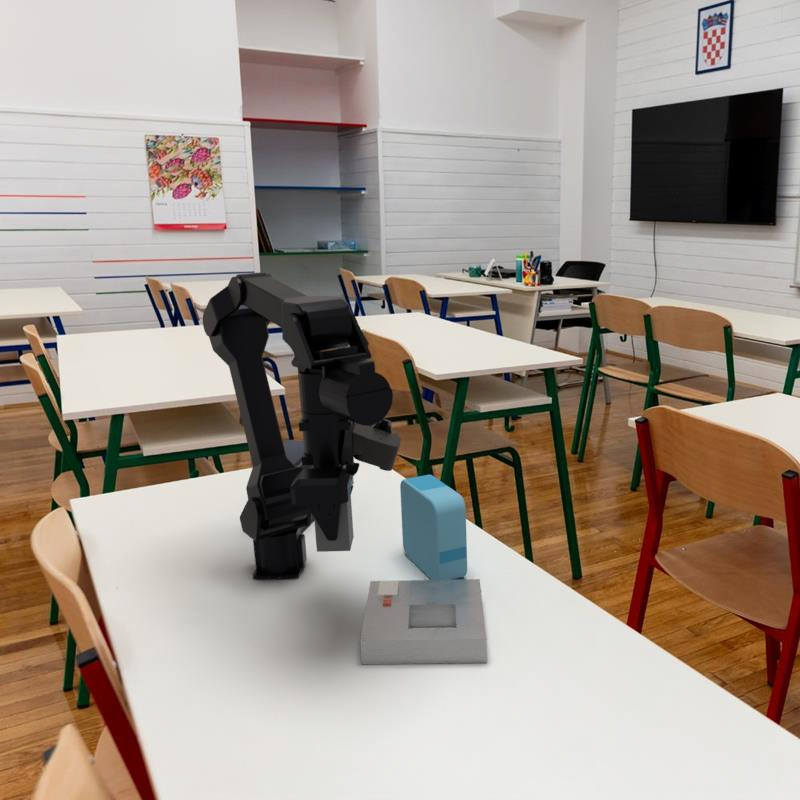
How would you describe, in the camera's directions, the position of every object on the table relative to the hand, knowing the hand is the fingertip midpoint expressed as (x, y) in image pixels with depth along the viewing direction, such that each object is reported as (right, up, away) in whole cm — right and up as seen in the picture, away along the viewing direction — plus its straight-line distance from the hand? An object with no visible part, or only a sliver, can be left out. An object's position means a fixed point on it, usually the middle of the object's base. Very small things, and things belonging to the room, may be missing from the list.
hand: (334, 532), depth 94 cm
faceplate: (+11, -12, -1) cm, 16 cm away
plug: (0, -1, 0) cm, 2 cm away
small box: (-9, -4, +35) cm, 36 cm away
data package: (+13, -8, +16) cm, 22 cm away
